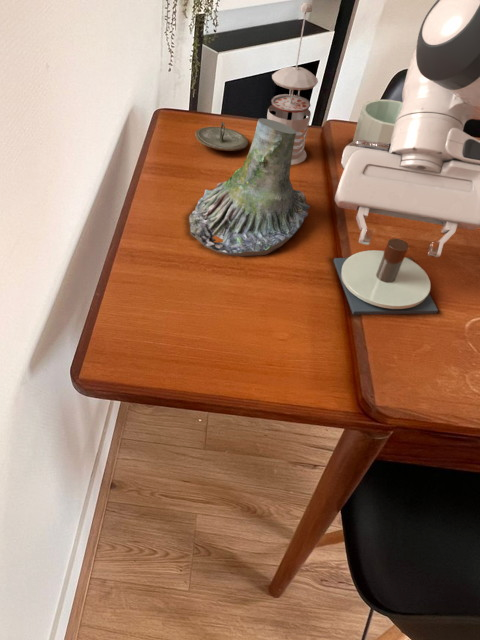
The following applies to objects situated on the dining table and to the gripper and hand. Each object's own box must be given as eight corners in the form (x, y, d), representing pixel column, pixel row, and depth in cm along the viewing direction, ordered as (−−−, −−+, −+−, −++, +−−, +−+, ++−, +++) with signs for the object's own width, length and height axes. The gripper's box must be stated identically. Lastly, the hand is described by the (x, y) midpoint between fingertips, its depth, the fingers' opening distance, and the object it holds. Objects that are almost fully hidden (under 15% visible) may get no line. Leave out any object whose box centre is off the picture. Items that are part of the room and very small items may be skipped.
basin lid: (411, 256, 81) (427, 218, 76) (440, 311, 73) (460, 273, 68) (331, 256, 80) (341, 218, 75) (351, 313, 72) (365, 274, 67)
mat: (408, 261, 82) (410, 257, 81) (436, 314, 74) (438, 310, 73) (333, 262, 81) (334, 257, 80) (352, 315, 73) (353, 311, 72)
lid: (186, 155, 104) (185, 134, 99) (209, 124, 108) (208, 102, 103) (235, 171, 101) (236, 150, 97) (256, 139, 105) (258, 117, 101)
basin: (399, 137, 110) (412, 99, 104) (418, 165, 102) (432, 126, 96) (345, 136, 109) (354, 98, 103) (359, 164, 101) (371, 125, 96)
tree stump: (162, 217, 88) (181, 100, 77) (248, 209, 99) (276, 106, 88) (231, 270, 77) (265, 144, 67) (319, 254, 89) (360, 145, 78)
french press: (253, 162, 100) (272, 7, 81) (263, 135, 108) (282, -13, 89) (304, 170, 99) (336, 14, 80) (310, 142, 107) (340, -6, 88)
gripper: (348, 128, 70) (324, 231, 72) (510, 152, 67) (482, 259, 68) (344, 145, 77) (322, 240, 78) (491, 168, 73) (466, 267, 75)
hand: (398, 249), depth 73 cm, fingers open, 8 cm apart
